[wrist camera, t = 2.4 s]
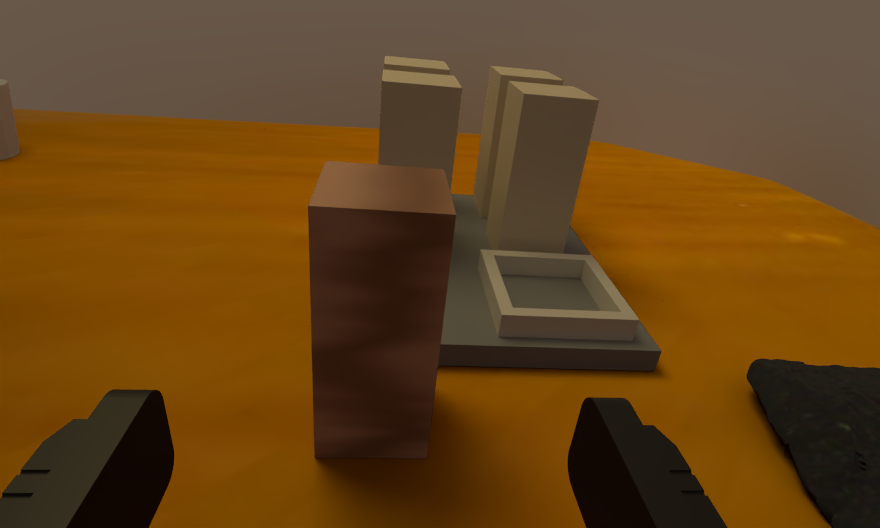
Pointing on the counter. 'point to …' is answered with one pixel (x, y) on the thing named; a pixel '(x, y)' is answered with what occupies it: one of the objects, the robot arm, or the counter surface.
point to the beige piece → (7, 124)
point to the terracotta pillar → (377, 306)
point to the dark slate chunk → (828, 433)
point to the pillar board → (514, 222)
